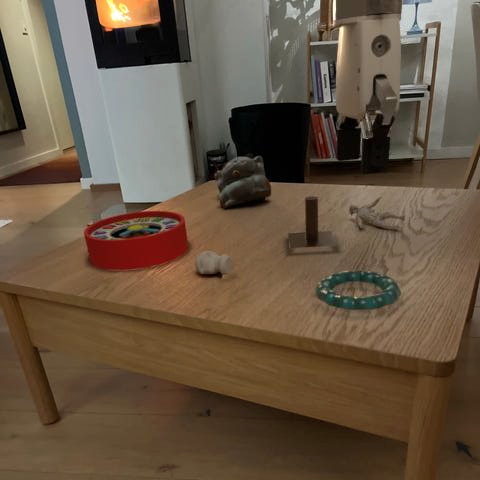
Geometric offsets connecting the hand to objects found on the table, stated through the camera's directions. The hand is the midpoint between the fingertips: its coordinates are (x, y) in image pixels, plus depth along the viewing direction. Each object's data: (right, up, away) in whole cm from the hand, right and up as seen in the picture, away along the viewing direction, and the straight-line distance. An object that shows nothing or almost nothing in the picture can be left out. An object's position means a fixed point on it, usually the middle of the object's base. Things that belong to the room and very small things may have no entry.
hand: (360, 165), depth 61 cm
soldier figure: (+13, 0, +40) cm, 42 cm away
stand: (-1, -5, +32) cm, 33 cm away
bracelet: (+2, -16, +9) cm, 18 cm away
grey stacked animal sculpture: (-15, +11, +65) cm, 68 cm away
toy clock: (-36, -6, +36) cm, 52 cm away
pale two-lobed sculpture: (-20, -12, +22) cm, 33 cm away
